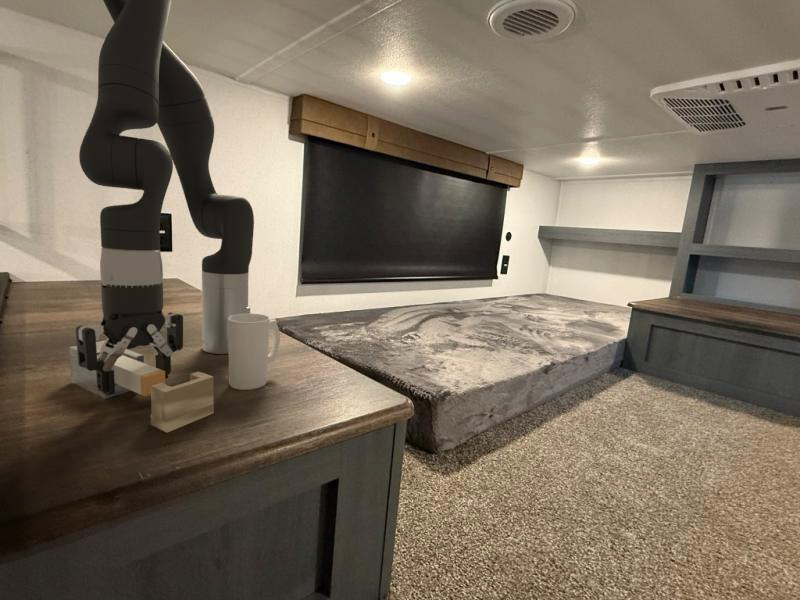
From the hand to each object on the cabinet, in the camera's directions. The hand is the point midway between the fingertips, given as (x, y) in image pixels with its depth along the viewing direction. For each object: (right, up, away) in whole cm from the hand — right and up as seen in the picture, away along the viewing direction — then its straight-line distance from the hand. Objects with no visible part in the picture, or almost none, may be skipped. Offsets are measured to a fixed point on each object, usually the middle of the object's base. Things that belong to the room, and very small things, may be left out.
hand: (136, 385), depth 60 cm
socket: (+10, -4, -4) cm, 11 cm away
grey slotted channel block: (-8, -1, +4) cm, 9 cm away
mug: (+14, -2, +11) cm, 18 cm away
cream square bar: (-4, +1, +2) cm, 4 cm away
